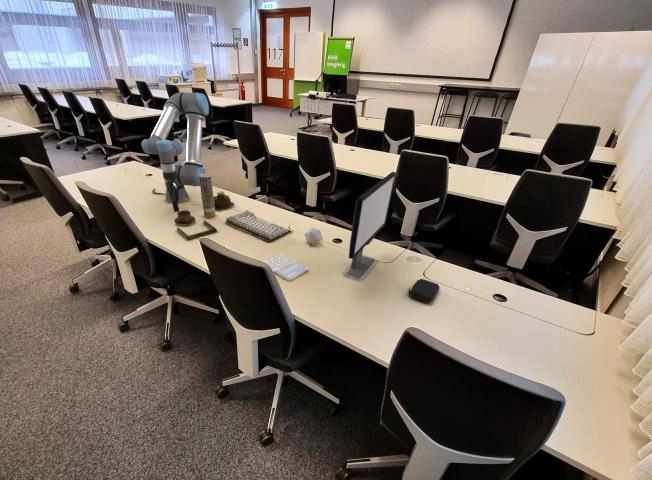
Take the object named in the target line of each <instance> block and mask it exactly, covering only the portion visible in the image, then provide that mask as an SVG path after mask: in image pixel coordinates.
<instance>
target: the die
mask: <svg viewBox="0 0 652 480" xmlns="http://www.w3.org/2000/svg"><path fill="white" fill-rule="evenodd" d="M304 237H305V241H306V243H307V244H310V245H312V246H314V247H316V246H317V245H318V244H319V243H320V242H322V241H323V235H322V232H321V230H320V229H318V228H315V227H313V226H312V227H310V228H309V229H308V230H307V231H306V232H305V233H304Z"/></svg>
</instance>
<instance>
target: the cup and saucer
mask: <svg viewBox="0 0 652 480" xmlns="http://www.w3.org/2000/svg"><path fill="white" fill-rule="evenodd" d="M176 215H177V217H176V218H174V220H173V221H174V223H175V224H176V225H179V226H188V225H192V224H194V223H195V222H196V217H195V216H193V215H192V214H191V211H190V210H188V209H187V210H185V209H183V210H179V212H176Z"/></svg>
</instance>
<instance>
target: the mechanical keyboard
mask: <svg viewBox="0 0 652 480" xmlns="http://www.w3.org/2000/svg"><path fill="white" fill-rule="evenodd" d="M224 224H225V225H228V226H230V227H232V228H234V229H236V230H239V231H242V232H243V233H245V234H249V235H251V236H252V237H255V238H256V239H259V240H262V241H264V242H267V243H269V242H270V243H272V242H274V241H277V240H278V239H280V238H282V237H284V236H287V235H289V234H292V232H293V231H292V230H290V229H288V228H286V227H282V226H280V225H278V224H276V223H273V222H272V221H269V220H266V219H264V218H262V217H259V216H257V215H255V214H254V212H252V211H248V210H244V211H242V212H239V213H236V214H233V215H230V216H229V217H228V216H227V217H225V222H224Z"/></svg>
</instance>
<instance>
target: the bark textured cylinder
mask: <svg viewBox="0 0 652 480" xmlns="http://www.w3.org/2000/svg"><path fill="white" fill-rule="evenodd" d="M199 181H200V186H199V188H200V196H201V203H202V210H203V216H204V218H205V219H212V218H215V216H216V210H215V206H214V190H213V189H214V188H213V182H212V174H211V173H210V172H205V173H201V174H199Z"/></svg>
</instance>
